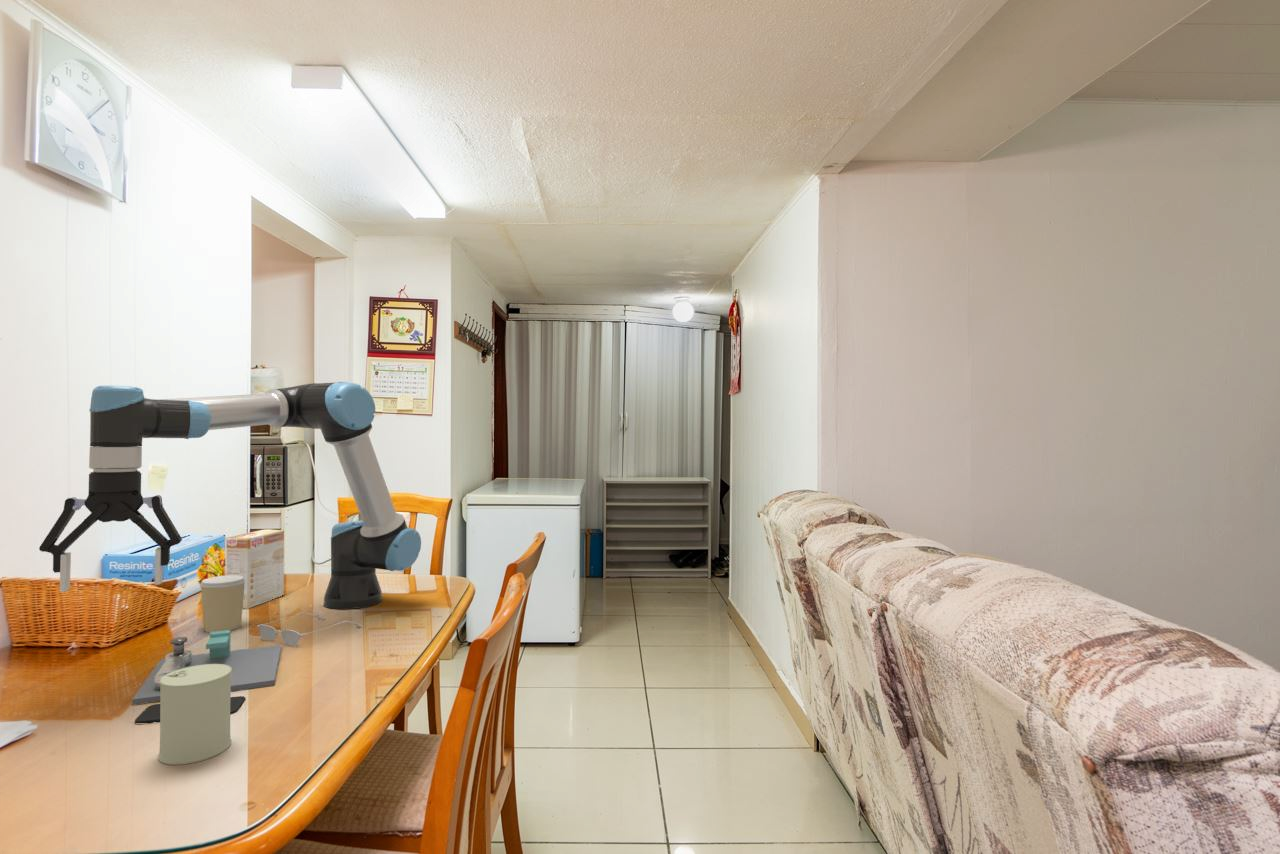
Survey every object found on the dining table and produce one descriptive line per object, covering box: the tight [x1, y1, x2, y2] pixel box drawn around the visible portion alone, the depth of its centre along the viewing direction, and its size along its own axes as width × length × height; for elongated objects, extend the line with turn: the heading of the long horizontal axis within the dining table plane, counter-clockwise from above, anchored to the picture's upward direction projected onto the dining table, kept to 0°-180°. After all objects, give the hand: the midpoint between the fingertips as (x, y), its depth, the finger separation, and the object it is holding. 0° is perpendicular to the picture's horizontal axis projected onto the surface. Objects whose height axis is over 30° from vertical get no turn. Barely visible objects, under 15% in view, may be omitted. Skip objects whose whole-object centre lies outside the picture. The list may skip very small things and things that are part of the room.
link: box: [154, 636, 193, 689], centre depth 128 cm, size 17×4×5 cm, turn 26°
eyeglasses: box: [256, 612, 363, 647], centre depth 159 cm, size 15×18×4 cm
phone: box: [134, 695, 246, 724], centre depth 114 cm, size 7×1×15 cm
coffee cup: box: [199, 575, 245, 633], centre depth 162 cm, size 9×9×12 cm
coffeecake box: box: [225, 528, 285, 610], centre depth 187 cm, size 15×7×20 cm, turn 172°
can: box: [157, 664, 232, 766], centre depth 100 cm, size 9×9×12 cm
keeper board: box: [131, 630, 282, 706], centre depth 131 cm, size 22×23×6 cm
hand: (112, 587), depth 120 cm, fingers open, 13 cm apart
